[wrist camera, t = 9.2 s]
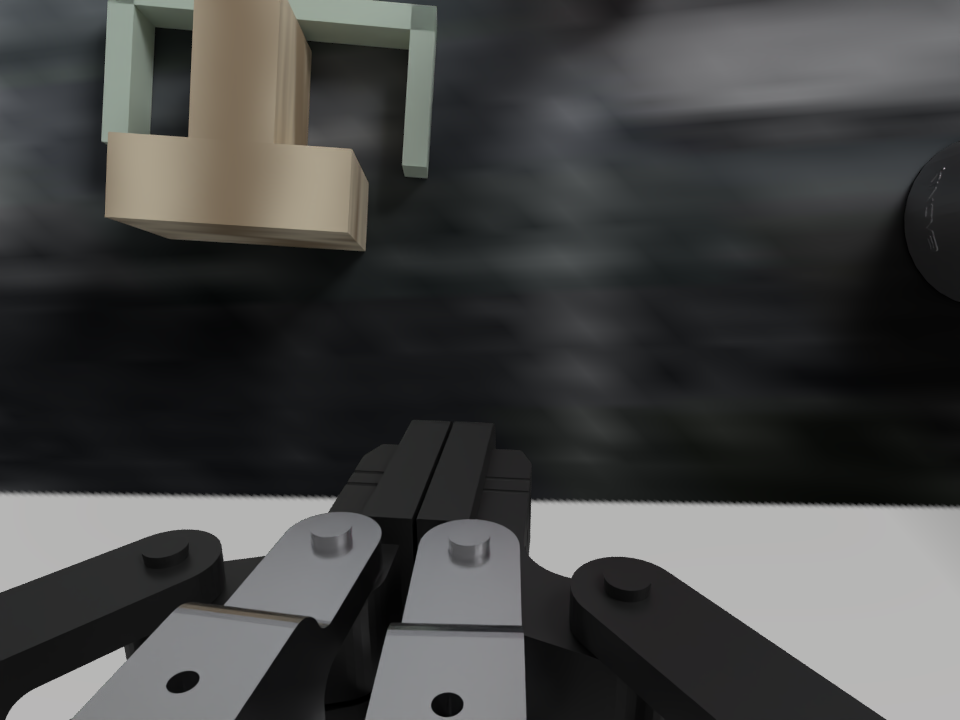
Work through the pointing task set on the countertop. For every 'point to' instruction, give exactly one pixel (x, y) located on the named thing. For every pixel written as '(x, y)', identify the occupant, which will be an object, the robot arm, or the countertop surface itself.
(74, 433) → the countertop surface
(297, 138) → the tee block
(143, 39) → the pocket
